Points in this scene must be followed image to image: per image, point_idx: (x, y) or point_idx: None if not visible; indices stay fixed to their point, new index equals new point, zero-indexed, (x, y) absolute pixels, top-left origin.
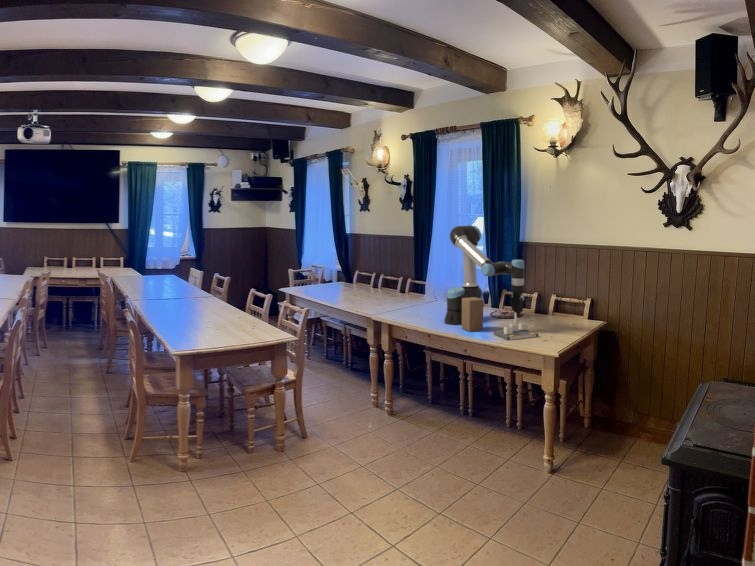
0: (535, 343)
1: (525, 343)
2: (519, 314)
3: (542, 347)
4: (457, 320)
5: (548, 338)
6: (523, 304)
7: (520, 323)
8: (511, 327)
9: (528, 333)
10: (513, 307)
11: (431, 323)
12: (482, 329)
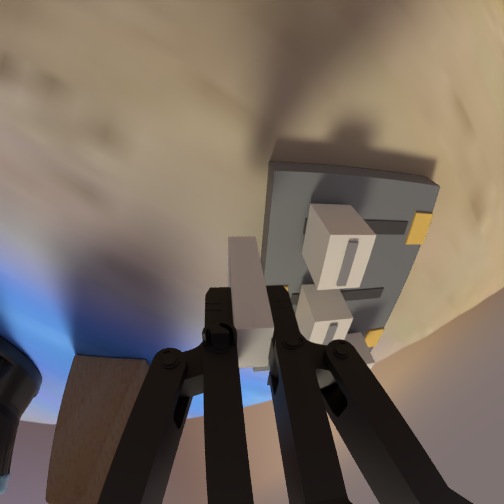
0: (464, 271)
1: (437, 303)
2: (294, 321)
3: (491, 277)
4: (34, 390)
5: (471, 157)
6: (416, 439)
7: (340, 286)
8: (371, 366)
9: (403, 243)
10: (184, 415)
11: (31, 403)
12: (147, 365)
